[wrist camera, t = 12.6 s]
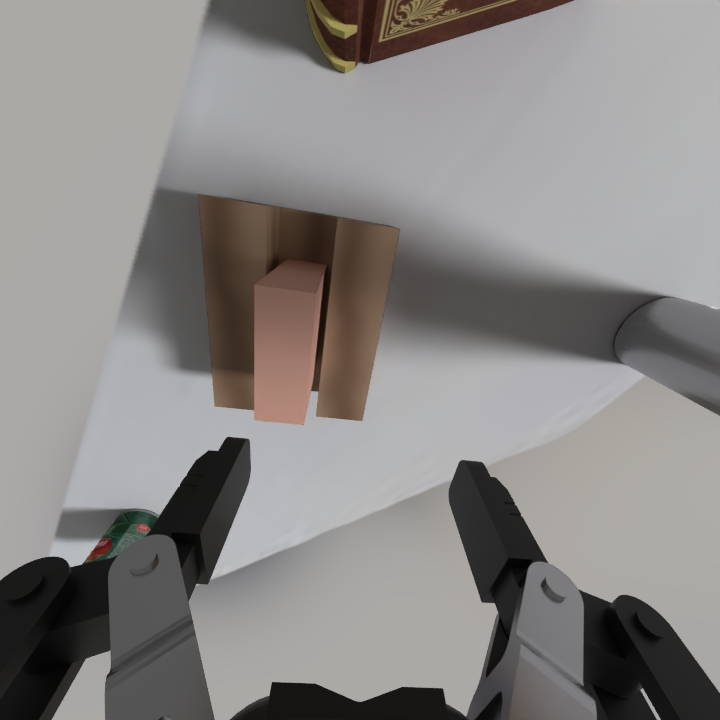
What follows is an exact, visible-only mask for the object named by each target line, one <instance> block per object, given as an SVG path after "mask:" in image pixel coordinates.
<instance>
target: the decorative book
mask: <svg viewBox="0 0 720 720" xmlns="http://www.w3.org/2000/svg"><path fill="white" fill-rule="evenodd" d="M571 1H573V0H305V2H306V8H307V13H308V17H309V20H310V23H311V27H312V30H313V33H314V37H315V39H316V40H317V42H318V44H319V45H320V47H321V49H322V50H323V52H324V54H325V55H326V57H327V58H328V59H329V61H330V62H331V63H332V64H333V66H334V67H335V68H336V69H337V70H339V71H341V72H343V73H347V72H349V71H351V70H352V69H354V68H355V67H356V65H357V63H358V62H359V60H364V61H366V62H367V63H368V64H370V63H373V62H377V61H380V60H383V59H387V58H390V57H393V56H397V55H400V54H403V53H407V52H410V51H413V50H417V49H420V48H423V47H427V46H430V45H433V44H437V43H440V42H443V41H447V40H450V39H453V38H456V37H460V36H463V35H466V34H470V33H473V32H476V31H480V30H483V29H486V28H490V27H493V26H496V25H500V24H503V23H506V22H510V21H513V20H516V19H520V18H523V17H526V16H529V15H533V14H536V13H539V12H542V11H545V10H549V9H551V8H554V7H557V6H560V5H563V4H565V3H568V2H571Z"/></svg>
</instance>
